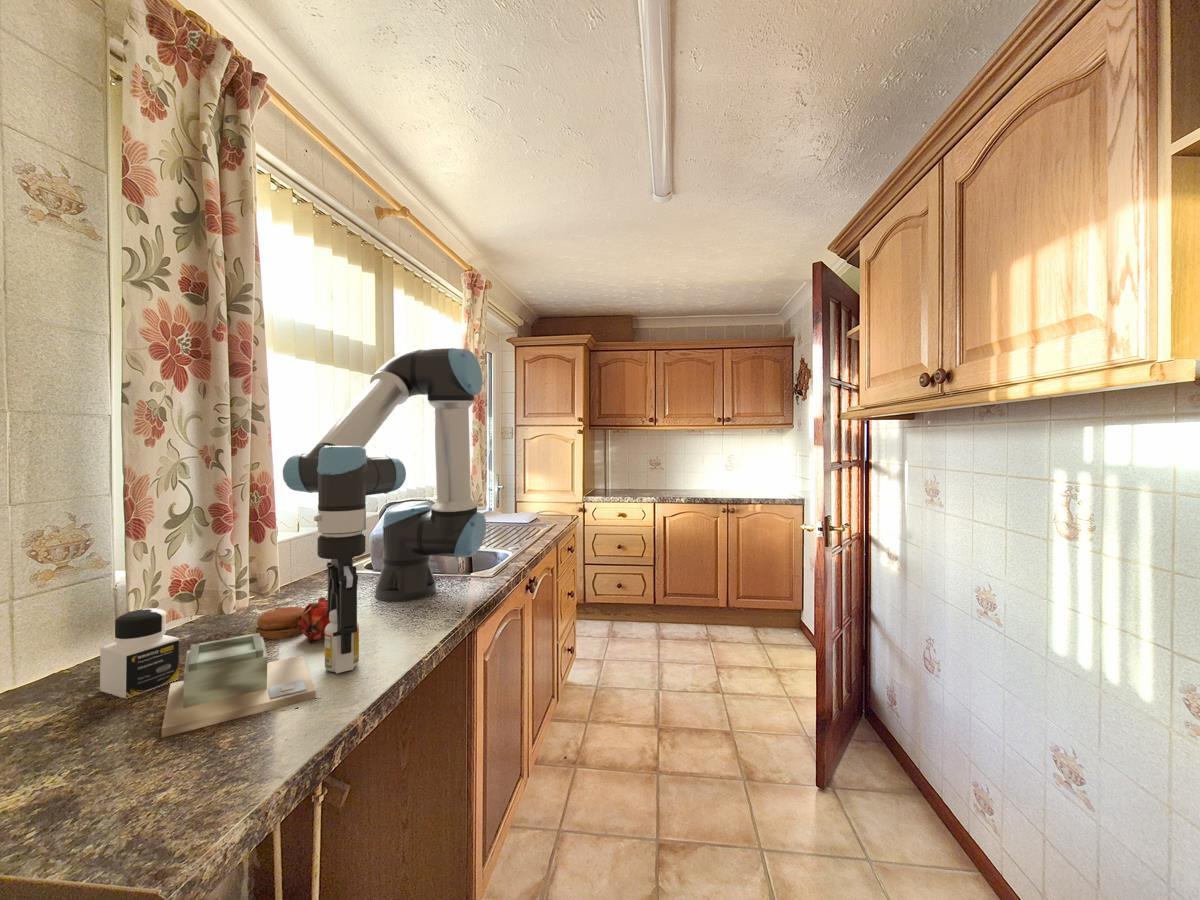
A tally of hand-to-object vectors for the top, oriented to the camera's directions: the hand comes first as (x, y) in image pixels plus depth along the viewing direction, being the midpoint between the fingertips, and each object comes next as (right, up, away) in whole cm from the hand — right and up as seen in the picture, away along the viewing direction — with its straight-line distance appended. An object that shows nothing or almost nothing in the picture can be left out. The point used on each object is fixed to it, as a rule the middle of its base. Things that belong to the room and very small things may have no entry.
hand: (341, 663), depth 87 cm
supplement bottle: (0, -1, 0) cm, 1 cm away
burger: (-21, -1, +17) cm, 27 cm away
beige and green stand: (-11, -1, -10) cm, 14 cm away
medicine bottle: (-29, -1, -7) cm, 30 cm away
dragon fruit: (-11, -1, +14) cm, 18 cm away
